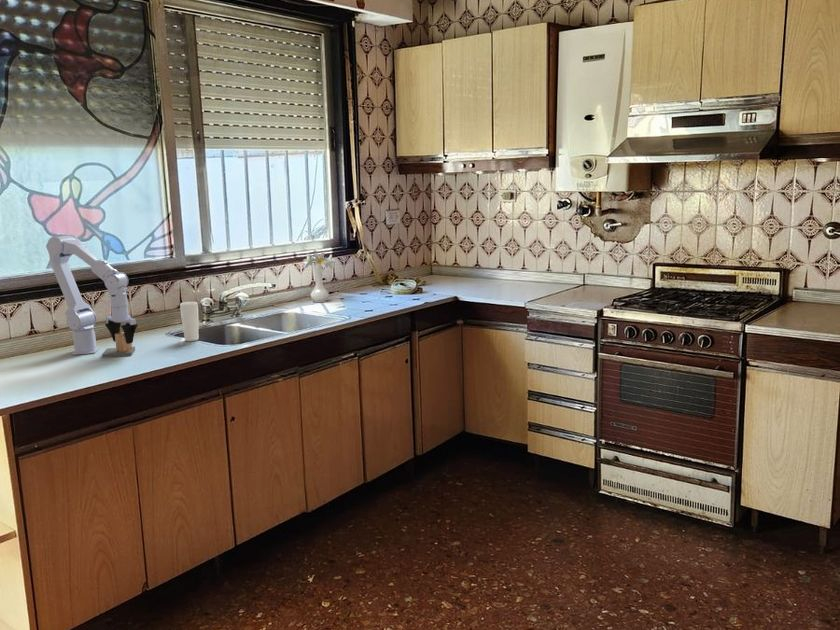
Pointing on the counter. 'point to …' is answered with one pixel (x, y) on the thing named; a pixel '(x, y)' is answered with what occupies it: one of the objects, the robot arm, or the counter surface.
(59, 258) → the robot arm
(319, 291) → the flower vase
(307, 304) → the counter surface
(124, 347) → the copper topped wooden cylinder
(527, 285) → the counter surface
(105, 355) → the base
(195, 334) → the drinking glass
